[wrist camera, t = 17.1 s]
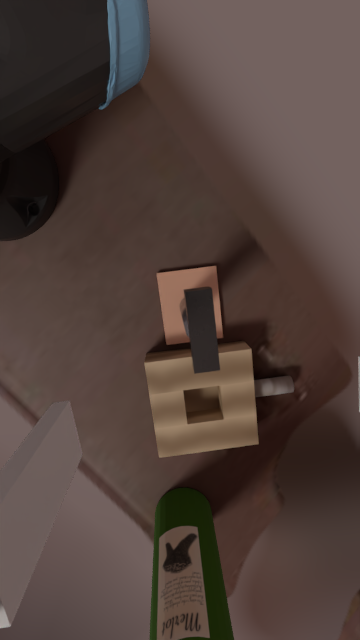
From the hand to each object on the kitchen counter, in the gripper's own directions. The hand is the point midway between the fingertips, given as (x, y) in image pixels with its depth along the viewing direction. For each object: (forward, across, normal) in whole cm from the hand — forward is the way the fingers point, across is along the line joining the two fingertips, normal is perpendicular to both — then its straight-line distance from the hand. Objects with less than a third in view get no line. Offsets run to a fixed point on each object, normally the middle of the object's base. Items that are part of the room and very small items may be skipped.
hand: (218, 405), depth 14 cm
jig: (+29, +4, -13) cm, 32 cm away
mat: (+29, +1, 0) cm, 29 cm away
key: (+28, +1, 0) cm, 28 cm away
